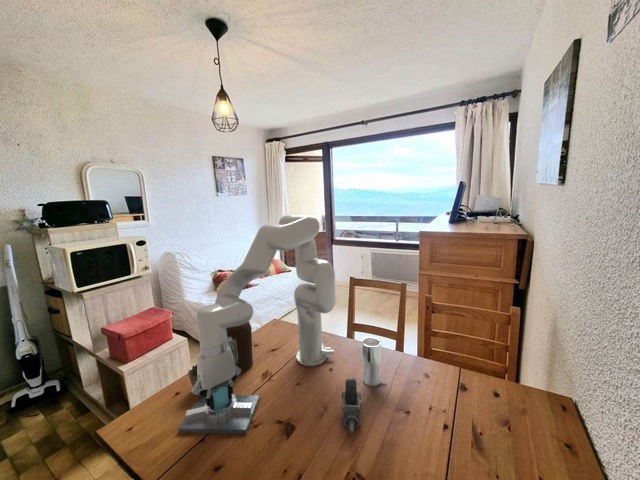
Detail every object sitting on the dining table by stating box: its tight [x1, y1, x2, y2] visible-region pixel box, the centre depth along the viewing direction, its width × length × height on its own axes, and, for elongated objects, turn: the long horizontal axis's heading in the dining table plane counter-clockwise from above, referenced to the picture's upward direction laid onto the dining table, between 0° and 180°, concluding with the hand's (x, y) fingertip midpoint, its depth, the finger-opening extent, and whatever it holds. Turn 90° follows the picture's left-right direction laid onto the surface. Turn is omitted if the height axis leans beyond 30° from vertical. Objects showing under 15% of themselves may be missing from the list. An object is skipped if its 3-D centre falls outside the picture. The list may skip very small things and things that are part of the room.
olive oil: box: [226, 320, 254, 374], centre depth 103 cm, size 11×11×25 cm
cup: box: [187, 363, 202, 389], centre depth 92 cm, size 8×7×8 cm
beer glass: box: [360, 336, 382, 387], centre depth 92 cm, size 7×7×15 cm
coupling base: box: [177, 393, 260, 435], centre depth 80 cm, size 20×13×4 cm, turn 86°
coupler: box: [211, 381, 229, 410], centre depth 80 cm, size 5×5×7 cm
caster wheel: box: [341, 378, 362, 434], centre depth 77 cm, size 6×10×15 cm
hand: (220, 401), depth 80 cm, fingers closed on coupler, 5 cm apart
